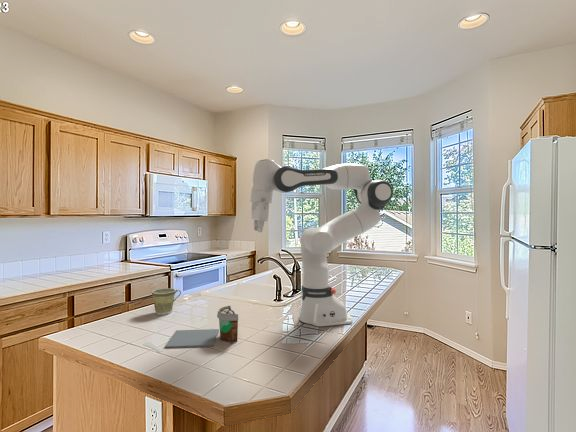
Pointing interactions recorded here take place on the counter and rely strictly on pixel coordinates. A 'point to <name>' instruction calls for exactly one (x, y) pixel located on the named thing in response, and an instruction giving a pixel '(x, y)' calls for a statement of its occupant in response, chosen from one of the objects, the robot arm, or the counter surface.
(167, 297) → the ceramic cup
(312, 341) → the counter surface
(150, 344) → the butter knife
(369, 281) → the counter surface
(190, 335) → the mat
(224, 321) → the food container
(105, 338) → the counter surface
